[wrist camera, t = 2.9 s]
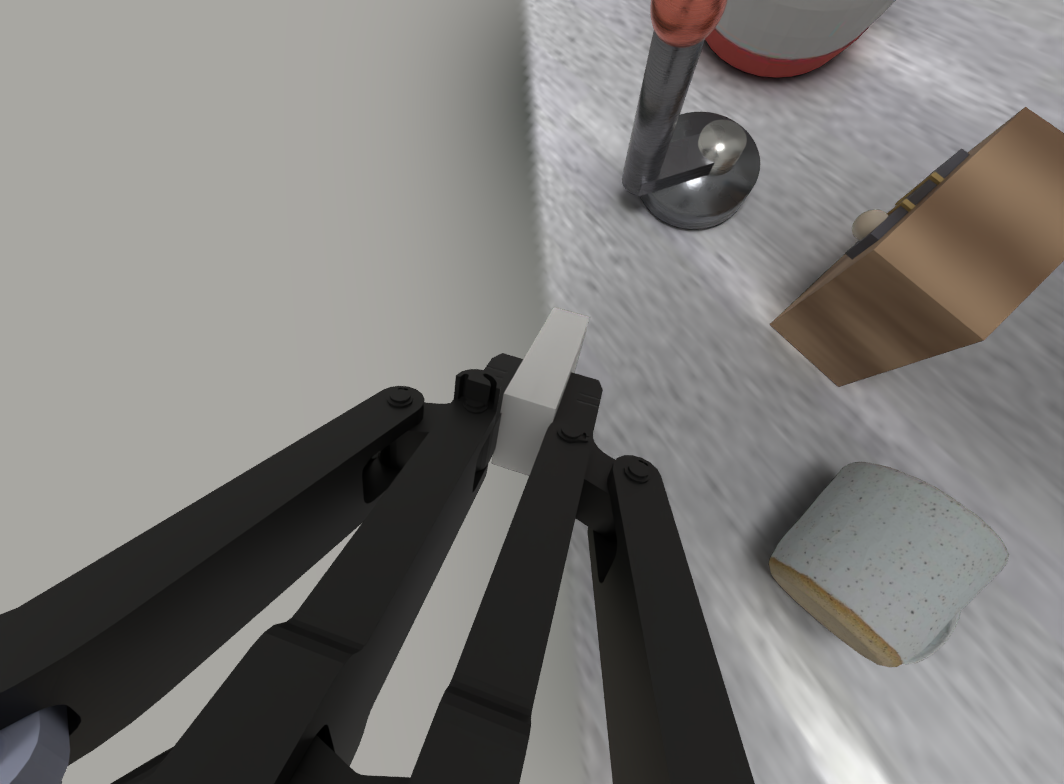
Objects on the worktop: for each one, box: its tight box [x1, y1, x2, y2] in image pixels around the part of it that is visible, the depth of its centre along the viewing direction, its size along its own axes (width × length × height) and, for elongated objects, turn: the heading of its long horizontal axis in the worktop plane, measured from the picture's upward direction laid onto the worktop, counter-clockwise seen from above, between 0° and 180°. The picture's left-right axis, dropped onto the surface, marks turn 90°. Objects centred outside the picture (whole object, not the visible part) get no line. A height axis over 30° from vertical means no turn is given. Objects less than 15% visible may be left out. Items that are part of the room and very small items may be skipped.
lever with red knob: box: [622, 0, 760, 229], centre depth 25 cm, size 10×8×15 cm
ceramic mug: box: [769, 462, 1009, 667], centre depth 23 cm, size 11×8×8 cm
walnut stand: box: [770, 107, 1064, 387], centre depth 25 cm, size 11×8×10 cm
